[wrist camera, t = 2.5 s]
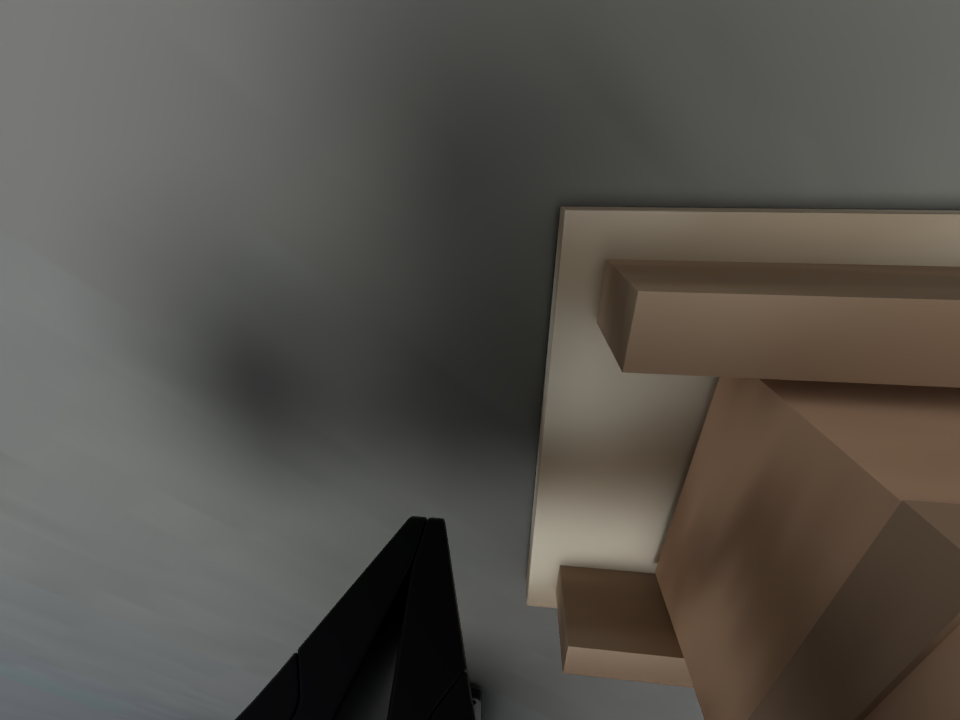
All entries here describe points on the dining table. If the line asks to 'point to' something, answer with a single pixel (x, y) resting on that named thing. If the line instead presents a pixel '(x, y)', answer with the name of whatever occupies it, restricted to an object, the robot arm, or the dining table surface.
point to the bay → (702, 379)
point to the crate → (820, 553)
